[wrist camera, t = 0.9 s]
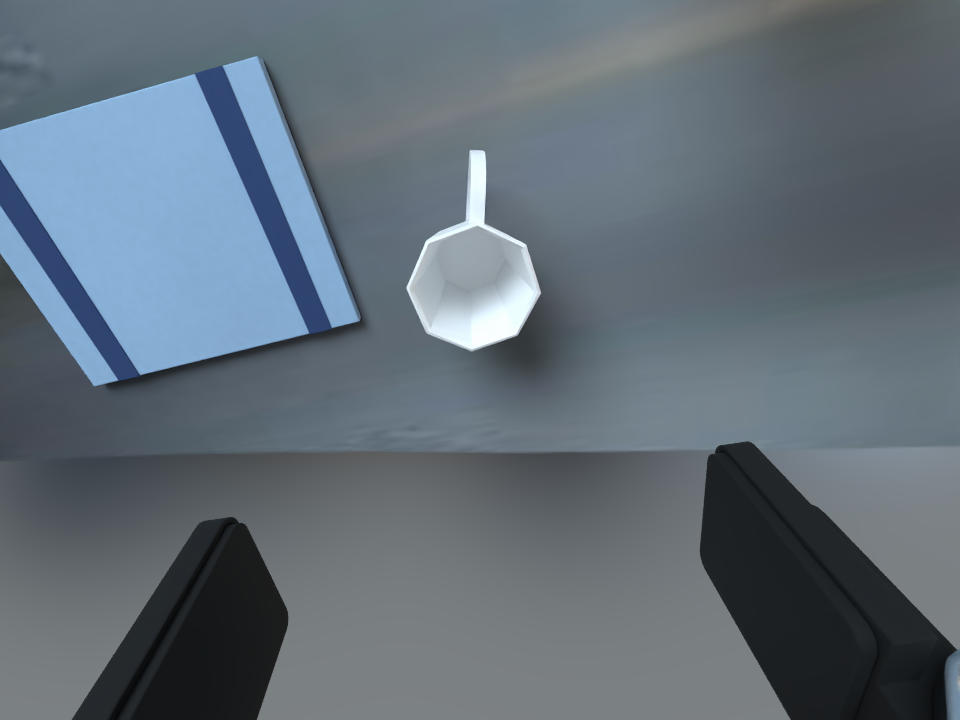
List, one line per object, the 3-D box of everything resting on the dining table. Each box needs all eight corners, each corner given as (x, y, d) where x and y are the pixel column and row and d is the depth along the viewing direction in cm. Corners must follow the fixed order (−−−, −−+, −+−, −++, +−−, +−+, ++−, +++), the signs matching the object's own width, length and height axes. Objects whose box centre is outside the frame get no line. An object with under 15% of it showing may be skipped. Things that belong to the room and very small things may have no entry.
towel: (-60, 150, 28) (-75, 151, 27) (262, 57, 27) (256, 55, 26) (101, 381, 35) (93, 387, 34) (361, 317, 34) (359, 322, 33)
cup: (418, 300, 33) (407, 350, 26) (416, 143, 29) (403, 151, 22) (517, 303, 34) (534, 353, 26) (531, 150, 29) (556, 159, 22)
